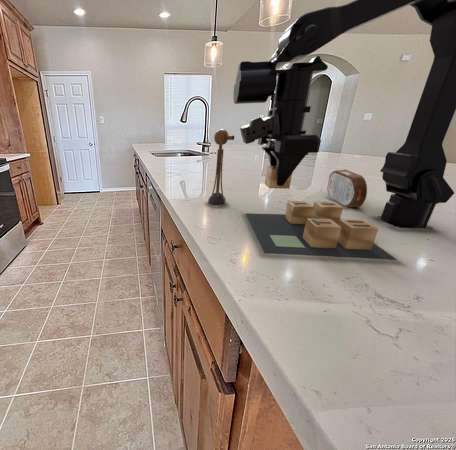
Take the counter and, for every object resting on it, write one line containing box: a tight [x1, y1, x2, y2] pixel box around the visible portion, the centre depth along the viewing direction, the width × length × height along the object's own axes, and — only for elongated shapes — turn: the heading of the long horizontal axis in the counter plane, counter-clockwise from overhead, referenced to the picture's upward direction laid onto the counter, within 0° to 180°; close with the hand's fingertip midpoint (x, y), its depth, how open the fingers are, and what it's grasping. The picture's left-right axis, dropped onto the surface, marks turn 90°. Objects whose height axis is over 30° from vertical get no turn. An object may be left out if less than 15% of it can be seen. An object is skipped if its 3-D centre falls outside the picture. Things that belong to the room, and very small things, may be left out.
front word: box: [303, 218, 379, 250], centre depth 43 cm, size 10×4×4 cm, turn 80°
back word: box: [285, 200, 344, 224], centre depth 53 cm, size 10×4×4 cm, turn 80°
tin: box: [327, 169, 368, 208], centre depth 65 cm, size 15×3×8 cm, turn 168°
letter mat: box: [245, 212, 398, 261], centre depth 49 cm, size 20×20×1 cm
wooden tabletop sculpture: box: [207, 128, 235, 206], centre depth 65 cm, size 6×5×20 cm
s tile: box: [264, 165, 293, 190], centre depth 51 cm, size 4×4×4 cm
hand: (277, 183), depth 52 cm, fingers closed on s tile, 4 cm apart
